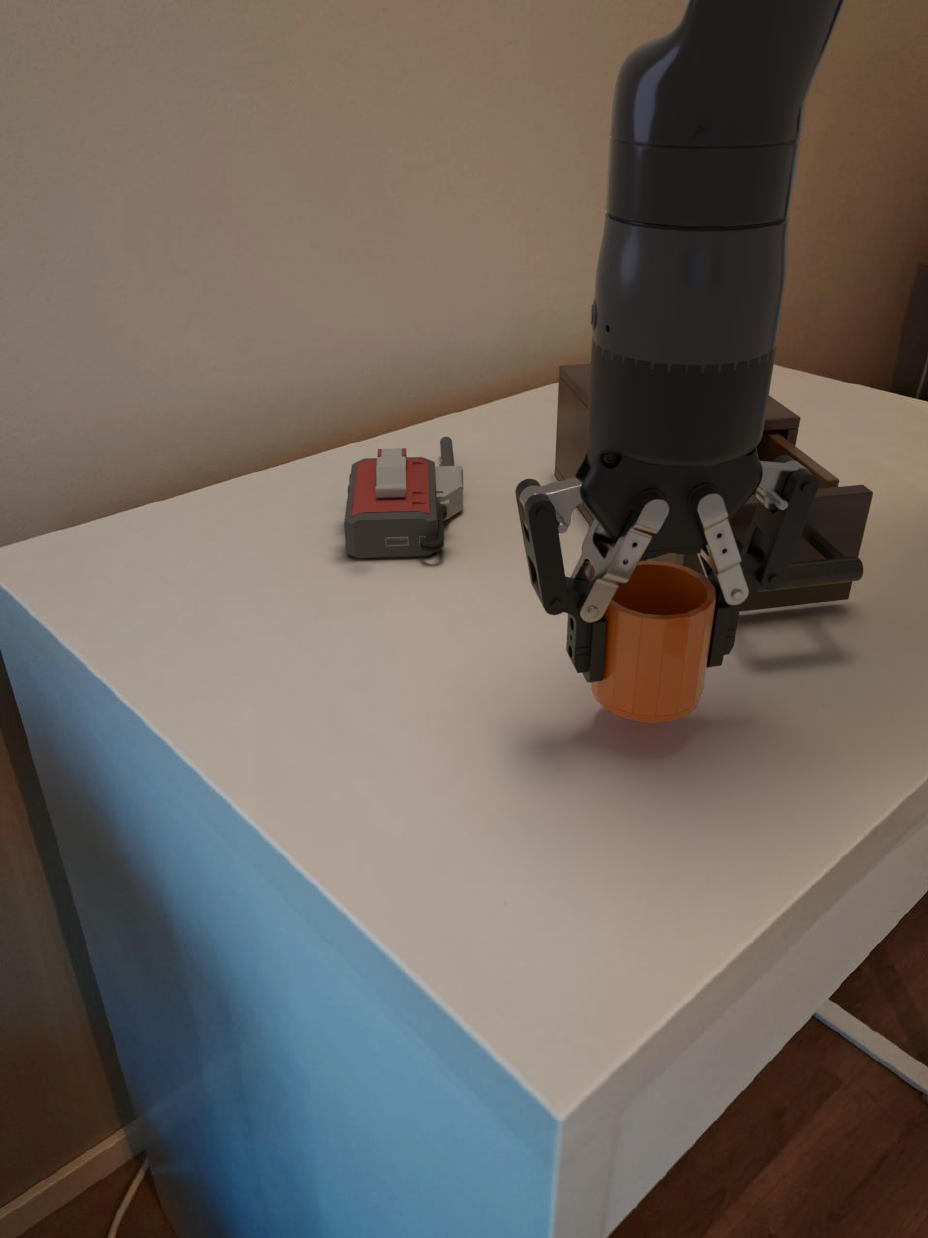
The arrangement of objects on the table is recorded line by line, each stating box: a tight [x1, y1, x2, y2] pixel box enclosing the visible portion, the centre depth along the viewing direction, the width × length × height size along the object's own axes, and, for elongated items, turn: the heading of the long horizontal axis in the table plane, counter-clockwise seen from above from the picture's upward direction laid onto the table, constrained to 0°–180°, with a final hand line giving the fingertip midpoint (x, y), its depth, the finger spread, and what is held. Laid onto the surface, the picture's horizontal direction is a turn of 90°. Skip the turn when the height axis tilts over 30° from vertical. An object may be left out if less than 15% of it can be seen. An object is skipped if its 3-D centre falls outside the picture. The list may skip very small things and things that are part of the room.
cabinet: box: [554, 363, 801, 546], centre depth 72 cm, size 15×13×9 cm
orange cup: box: [590, 560, 716, 723], centre depth 48 cm, size 6×6×6 cm
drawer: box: [646, 430, 874, 613], centre depth 61 cm, size 18×11×7 cm, turn 11°
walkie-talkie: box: [343, 436, 464, 559], centre depth 73 cm, size 9×4×20 cm
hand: (648, 664), depth 49 cm, fingers closed on orange cup, 5 cm apart
